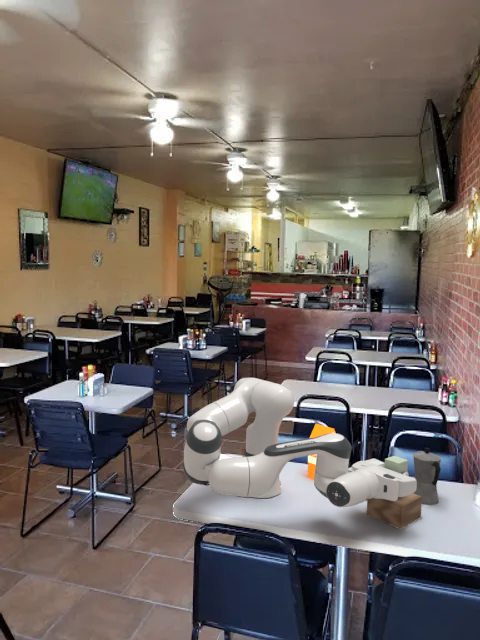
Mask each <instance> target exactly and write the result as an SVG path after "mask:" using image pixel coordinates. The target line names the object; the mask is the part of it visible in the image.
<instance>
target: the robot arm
mask: <svg viewBox="0 0 480 640" xmlns="http://www.w3.org/2000/svg"><path fill="white" fill-rule="evenodd" d="M294 406H295V395H294V393H293V392H292V391H291V390H290V389H289V388H287V387H286V386H284V385H283V384H281V383H280V384H279V383H275V382H273V381H269V380H264V379H260V378H257V377H243V378H240V379H239V380H238V381H237V382H236V383H235V384H234V388H233V391H231V392H230V393H229V394H227V395H225V396H224V397H222V398H219V399H218V400H215V401H213V402H212V403H209V404H207V405H205V406H204V407H201V409H199V410H198V411H196V412H195V413H193V414H192V415H191V416H190V417H189V418H188V420H187V421H186V422H187V423H186V431H187V432H186V433H187V434H186V437H185V438H186V439H185V444H184V447H183V466H182V467H183V473H184V475H185V477H186V479H187V480H188V481H190V482H191V483H193V484H197V485H201V486H205V487H208V486H210V488H211V490H212V491H214V492H215V493H217V494H222V495H226V496H237V497H240V498H257V499H267V498H268V499H269V498H274V497H276V496H277V495H280V494H281V492H282V489H281V485H282V481H281V480H280V474H281V472H282V470H283V469H284V467H285V466H286V465H287V464H288V463H289V462H290V461H291V460H293V459H297V458H302V457H308V456H310V455H316V454H317V458H316V468H315V474H314V480H313V485H314V487H315V489H316V490H317V492H319V493H320V494H321V495H322V496H323V497H324V498H326V499H328V501H329V502H330V503H331V504H332V505H333V506H335V507H338V508H349V507H353V506H356V505H359V504H361V503H364V502H365V501H366V499H371V498H378V499H386V500H391V501H396V500H398V497H405V496H407V495H410V494H412V493H414V492H415V491H416V488H417V481H416V479H415V478H414V477H411V476H409V472H408V471H407V472H405V471H403V472H401V473H398V472H395V471H392V470H389V469H387V468H385V466H378V465H375V464H373V463H370V462H367V461H366V460H360V461H357V462H356V461H355V463H353V464H352V465H351V467H349V465H350V464H349V463H350V462H349V461H350V459H351V453H352V449H353V446H352V445H351V442H350V441H349V440H348V438H347V437H345V435H343V434H341V433H336V432H335V433H328V434H324V435H321V436H318V437H313V438H310V437H309V438H303V439H302V438H301V439H296V440H289V441H284V442H279V431H280V427H281V423H282V422H283V420H284V418H285V417H287V416H288V415H289V414H291V412H292V411H293V408H294ZM251 413H255V419H254V421H253V422H252V423H250V424H249V425H248V426H247V428H246V434H245V435H246V436H245V448H243V449H240V454H242V456H234V457H231V456H228V455H225V454H224V453H221V452H222V451H221V450H222V444H223V436H225V435H228V434H229V433H231V432H233V431H235V430H236V429H237V430H238V429H239V428H240V427H243V426H244V425H245V424H246V423H247V421H248V417H249V415H250V414H251Z"/></svg>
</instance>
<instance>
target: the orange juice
mask: <svg viewBox="0 0 480 640" xmlns="http://www.w3.org/2000/svg"><path fill="white" fill-rule="evenodd" d="M328 433H336V431H335V428H332V427H329V426H325V425H322V424H319V423H315V424H314V427H313V429H312V431H311V434H310V436H309V438H313V437H318V436H321V435H324V434H328ZM316 458H317V454H316V455H310V456H307V478H309V479H311V480H313V481H314V474H315V468H316Z"/></svg>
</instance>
